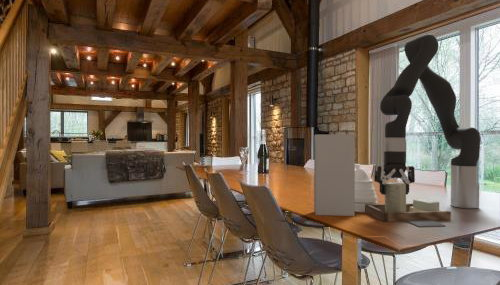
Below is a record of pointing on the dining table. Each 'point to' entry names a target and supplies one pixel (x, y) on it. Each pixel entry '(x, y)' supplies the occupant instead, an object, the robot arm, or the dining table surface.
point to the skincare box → (395, 197)
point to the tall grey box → (334, 175)
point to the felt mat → (425, 223)
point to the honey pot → (363, 189)
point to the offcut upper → (426, 204)
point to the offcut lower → (417, 210)
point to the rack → (405, 214)
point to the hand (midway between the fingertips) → (394, 194)
